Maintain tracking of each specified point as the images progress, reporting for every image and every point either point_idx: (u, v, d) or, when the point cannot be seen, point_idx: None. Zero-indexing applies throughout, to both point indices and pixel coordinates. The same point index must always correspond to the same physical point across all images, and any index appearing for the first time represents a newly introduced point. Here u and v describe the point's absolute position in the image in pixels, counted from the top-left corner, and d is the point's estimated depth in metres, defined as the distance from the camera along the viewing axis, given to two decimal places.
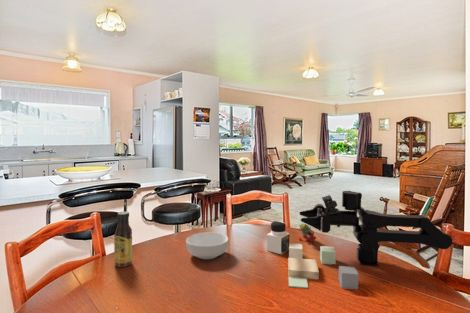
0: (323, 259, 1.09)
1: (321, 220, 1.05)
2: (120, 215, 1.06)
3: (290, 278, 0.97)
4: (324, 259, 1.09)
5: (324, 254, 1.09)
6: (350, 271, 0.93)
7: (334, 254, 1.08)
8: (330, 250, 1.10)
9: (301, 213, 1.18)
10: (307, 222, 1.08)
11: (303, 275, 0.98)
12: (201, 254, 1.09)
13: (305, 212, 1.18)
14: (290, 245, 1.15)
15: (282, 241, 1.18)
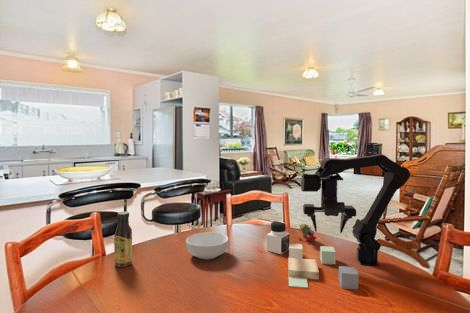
0: (323, 259, 1.09)
1: None
2: (120, 215, 1.06)
3: (290, 278, 0.97)
4: (324, 259, 1.09)
5: (323, 254, 1.09)
6: (350, 271, 0.93)
7: (334, 254, 1.08)
8: (330, 250, 1.10)
9: None
10: None
11: (303, 275, 0.98)
12: (201, 254, 1.09)
13: None
14: (290, 245, 1.15)
15: (282, 241, 1.18)
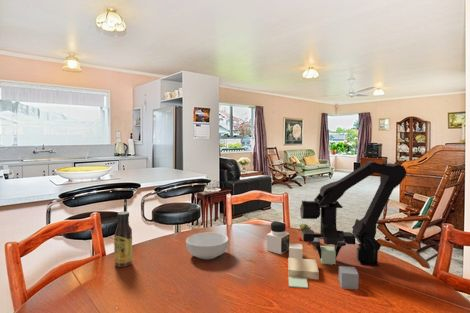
0: (323, 259, 1.09)
1: None
2: (120, 215, 1.06)
3: (290, 278, 0.97)
4: (325, 259, 1.09)
5: (324, 253, 1.09)
6: (350, 271, 0.93)
7: (334, 254, 1.08)
8: (330, 250, 1.10)
9: (320, 256, 1.12)
10: None
11: (303, 275, 0.98)
12: (201, 254, 1.09)
13: (320, 252, 1.11)
14: (290, 245, 1.15)
15: (282, 241, 1.18)
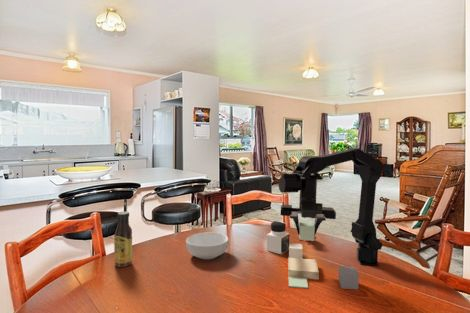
0: (301, 234, 1.02)
1: (325, 217, 1.01)
2: (120, 215, 1.06)
3: (290, 278, 0.97)
4: (303, 234, 1.02)
5: (302, 229, 1.02)
6: (350, 271, 0.93)
7: (313, 229, 1.01)
8: (309, 225, 1.02)
9: None
10: None
11: (303, 275, 0.98)
12: (201, 254, 1.09)
13: None
14: (290, 245, 1.15)
15: (282, 241, 1.18)
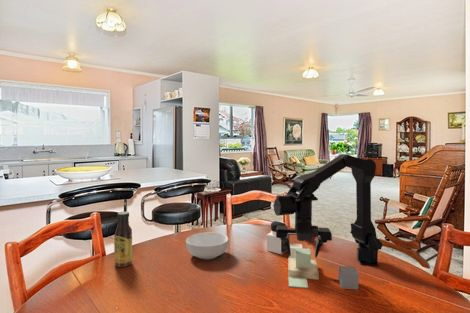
0: (297, 262, 1.01)
1: None
2: (120, 215, 1.06)
3: (290, 278, 0.97)
4: (299, 262, 1.01)
5: (298, 256, 1.01)
6: (350, 271, 0.93)
7: (309, 257, 1.00)
8: (305, 252, 1.01)
9: (290, 253, 1.04)
10: None
11: (303, 275, 0.98)
12: (201, 254, 1.09)
13: None
14: (290, 245, 1.15)
15: (282, 241, 1.18)
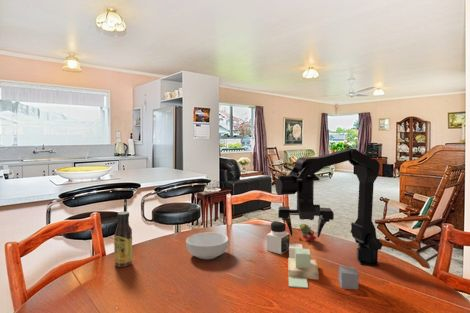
0: (297, 262, 1.01)
1: None
2: (120, 215, 1.06)
3: (290, 278, 0.97)
4: (299, 262, 1.01)
5: (298, 256, 1.01)
6: (350, 271, 0.93)
7: (309, 257, 1.00)
8: (305, 252, 1.01)
9: None
10: None
11: (303, 275, 0.98)
12: (201, 254, 1.09)
13: None
14: (290, 245, 1.15)
15: (282, 241, 1.18)
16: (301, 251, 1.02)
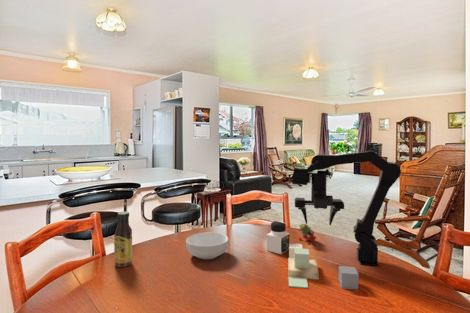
0: (296, 262, 1.01)
1: None
2: (120, 215, 1.06)
3: (290, 278, 0.97)
4: (298, 262, 1.01)
5: (296, 256, 1.01)
6: (350, 271, 0.93)
7: (308, 257, 1.00)
8: (304, 252, 1.01)
9: (306, 221, 1.18)
10: None
11: (303, 275, 0.98)
12: (201, 254, 1.09)
13: (306, 218, 1.17)
14: (290, 245, 1.15)
15: (282, 241, 1.18)
16: (300, 251, 1.03)
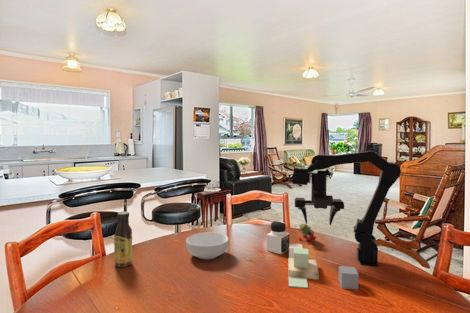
0: (295, 262, 1.01)
1: None
2: (120, 215, 1.06)
3: (290, 278, 0.97)
4: (297, 262, 1.01)
5: (296, 256, 1.01)
6: (350, 271, 0.93)
7: (307, 257, 1.00)
8: (303, 252, 1.01)
9: None
10: None
11: (303, 275, 0.98)
12: (201, 254, 1.09)
13: (306, 218, 1.17)
14: (290, 245, 1.15)
15: (282, 241, 1.18)
16: (299, 251, 1.03)
